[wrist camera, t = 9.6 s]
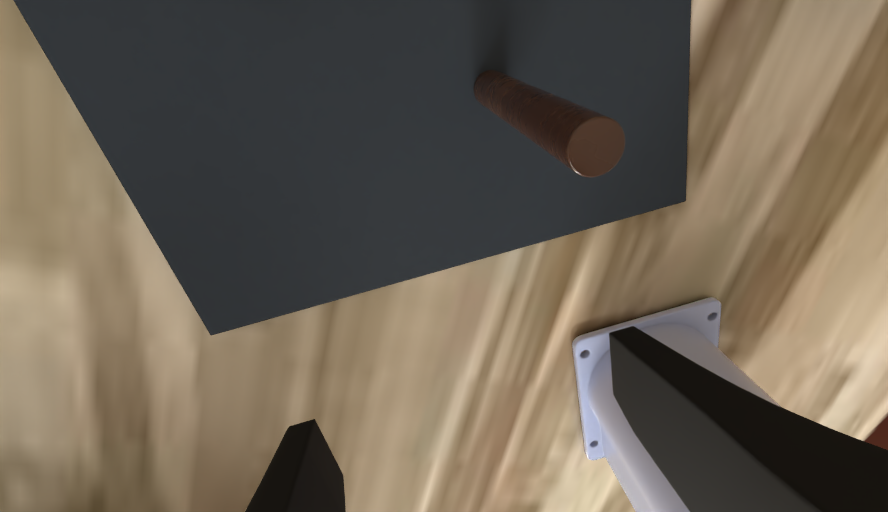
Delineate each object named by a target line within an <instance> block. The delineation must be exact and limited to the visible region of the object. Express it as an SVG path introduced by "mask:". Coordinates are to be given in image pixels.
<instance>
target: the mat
mask: <svg viewBox="0 0 888 512" xmlns="http://www.w3.org/2000/svg"><path fill="white" fill-rule="evenodd" d="M14 2H15V3H16V5H17V7H18V8H19V10H20V12H21V14H22V15H23V17H24V19H25V20H26V22H27V24H28V25H29V27H30V29H31V31H32V32H33V34H34V36H35V37H36V39H37V41H38V42H39V44H40V46H41V48H42V49H43V51H44V53H45V54H46V56H47V58H48V59H49V61H50V63H51V65H52V66H53V68H54V70H55V71H56V73H57V75H58V76H59V78H60V80H61V82H62V83H63V85H64V87H65V88H66V90H67V92H68V93H69V95H70V97H71V99H72V100H73V102H74V104H75V105H76V107H77V109H78V110H79V112H80V114H81V116H82V117H83V119H84V121H85V122H86V124H87V126H88V127H89V129H90V131H91V133H92V134H93V136H94V138H95V139H96V141H97V143H98V144H99V146H100V148H101V150H102V151H103V153H104V155H105V156H106V158H107V160H108V161H109V163H110V165H111V167H112V168H113V170H114V172H115V173H116V175H117V177H118V178H119V180H120V182H121V184H122V185H123V187H124V189H125V190H126V192H127V194H128V195H129V197H130V199H131V201H132V202H133V204H134V206H135V207H136V209H137V211H138V212H139V214H140V216H141V218H142V219H143V221H144V223H145V224H146V226H147V228H148V229H149V231H150V233H151V234H152V236H153V238H154V240H155V241H156V243H157V245H158V246H159V248H160V250H161V251H162V253H163V255H164V257H165V258H166V260H167V262H168V263H169V265H170V267H171V268H172V270H173V272H174V274H175V275H176V277H177V279H178V280H179V282H180V284H181V285H182V287H183V289H184V291H185V292H186V294H187V296H188V297H189V299H190V301H191V302H192V304H193V306H194V308H195V309H196V311H197V313H198V314H199V316H200V318H201V319H202V321H203V323H204V325H205V326H206V328H207V330H208V331H209V333H210V335H214V334H218V333H221V332H225V331H229V330H232V329H236V328H239V327H243V326H246V325H250V324H253V323H257V322H260V321H264V320H267V319H271V318H274V317H278V316H282V315H285V314H289V313H292V312H296V311H299V310H303V309H306V308H310V307H313V306H317V305H320V304H324V303H327V302H331V301H335V300H338V299H342V298H345V297H349V296H352V295H356V294H359V293H363V292H366V291H370V290H373V289H377V288H381V287H384V286H388V285H391V284H395V283H398V282H402V281H405V280H409V279H412V278H416V277H419V276H423V275H426V274H430V273H434V272H437V271H441V270H444V269H448V268H451V267H455V266H458V265H462V264H465V263H469V262H472V261H476V260H479V259H483V258H487V257H490V256H494V255H497V254H501V253H504V252H508V251H511V250H515V249H518V248H522V247H525V246H529V245H533V244H536V243H540V242H543V241H547V240H550V239H554V238H557V237H561V236H564V235H568V234H571V233H575V232H578V231H582V230H586V229H589V228H593V227H596V226H600V225H603V224H607V223H610V222H614V221H617V220H621V219H624V218H628V217H631V216H635V215H639V214H642V213H646V212H649V211H653V210H656V209H660V208H663V207H667V206H670V205H674V204H677V203H681V202H684V201H686V172H687V134H688V96H689V58H690V19H691V0H14ZM487 70H496V71H498V72H501V73H503V74H506V75H508V76H510V77H513V78H515V79H518V80H520V81H523V82H525V83H527V84H530V85H532V86H535V87H537V88H540V89H542V90H544V91H547V92H549V93H552V94H554V95H556V96H559V97H561V98H564V99H566V100H569V101H571V102H573V103H576V104H578V105H581V106H583V107H586V108H588V109H590V110H593V111H595V112H598V113H600V114H603V115H605V116H607V117H610V118H612V119H614V120H616V121H617V122H618V123H619V124H620V126H621V127H622V129H623V132H624V135H625V148H624V152H623V154H622V157H621V158H620V160H619V162H618V163H617V164H616V165H615V166H614V167H613V168H612V169H611V170H610V171H609V172H607V173H605V174H603V175H601V176H597V177H583V176H580V175H578V174H577V173H575V172H574V171H573V170H571V169H570V168H568V167H567V166H566V165H564V164H563V163H562V162H560V161H559V160H557V159H556V158H555V157H553V156H552V155H551V154H549V153H548V152H546V151H545V150H544V149H542V148H541V147H540V146H538V145H537V144H535V143H534V142H533V141H531V140H530V139H529V138H527V137H526V136H524V135H523V134H522V133H520V132H519V131H518V130H516V129H515V128H513V127H512V126H511V125H509V124H508V123H507V122H505V121H504V120H502V119H501V118H500V117H498V116H497V115H496V114H494V113H493V112H491V111H490V110H489V109H487V108H486V107H485V106H483V105H482V104H480V103H479V102H478V101H477V99H476V98H475V95H474V83H475V81H476V79H477V77H478V76H479V75H480V74H481V73H483V72H485V71H487Z"/></svg>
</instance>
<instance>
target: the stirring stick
mask: <svg viewBox="0 0 888 512" xmlns="http://www.w3.org/2000/svg"><path fill="white" fill-rule="evenodd" d="M474 95H475V98H476V99H477V101H478V102H479V103H480V104H482V105H483V106H485V107H486V108H487V109H489V110H490V111H491V112H493V113H494V114H496V115H497V116H498V117H500V118H501V119H502V120H504V121H505V122H507V123H508V124H509V125H511V126H512V127H513V128H515V129H516V130H518V131H519V132H520V133H522V134H523V135H524V136H526V137H527V138H529V139H530V140H531V141H533V142H534V143H535V144H537V145H538V146H540V147H541V148H542V149H544V150H545V151H546V152H548V153H549V154H551V155H552V156H553V157H555V158H556V159H557V160H559V161H560V162H562V163H563V164H564V165H566V166H567V167H568V168H570V169H571V170H573V171H574V172H575V173H577V174H578V175H580V176H583V177H597V176H601V175H603V174H605V173H607V172H609V171H610V170H611V169H612V168H613V167H614V166H615V165H616V164H617V163H618V162H619V160H620V158H621V157H622V154H623V152H624V148H625V135H624V132H623V129H622V127H621V126H620V124H619V123H618V122H617V121H616V120H614V119H612V118H610V117H607V116H605V115H603V114H600V113H598V112H595V111H593V110H590V109H588V108H586V107H583V106H581V105H578V104H576V103H573V102H571V101H569V100H566V99H564V98H561V97H559V96H556V95H554V94H552V93H549V92H547V91H544V90H542V89H540V88H537V87H535V86H532V85H530V84H527V83H525V82H523V81H520V80H518V79H515V78H513V77H510V76H508V75H506V74H503V73H501V72H498V71H496V70H487V71H485V72H483V73H481V74H480V75H479V76H478V77H477V79H476V81H475V83H474Z"/></svg>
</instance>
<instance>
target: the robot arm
mask: <svg viewBox="0 0 888 512" xmlns="http://www.w3.org/2000/svg"><path fill="white" fill-rule="evenodd" d="M709 314H710V315H709ZM720 316H721V303H720V302H719V301H718V300H717V299H716V298H714V297H709V298H706V299H702V300H699V301H695V302H692V303H688V304H685V305H682V306H678V307H675V308H671V309H668V310H665V311H661V312H658V313H654V314H651V315H647V316H644V317H641V318H637V319H634V320H630V321H627V322H624V323H620V324H617V325H613V326H610V327H606V328H603V329H600V330H596V331H593V332H589V333H586V334H582V335H580V336H577V337H576V338H575V339H574V341H573V343H572V347H573V356H574V364H575V372H576V381H577V389H578V398H579V406H580V415H581V423H582V431H583V440H584V448H585V454H586V456H587V458H588V459H590V460H597V459H600V458H603V457H605V458H606V460H607V461H608V463H609V465H610V467H611V468H612V470H613V472H614V474H615V476H616V477H617V479H618V481H619V483H620V484H621V486H622V488H623V490H624V492H625V493H626V495H627V497H628V499H629V500H630V502H631V504H632V506H633V508H634V509H635V511H636V512H888V450H886V449H883V448H880V447H878V446H875V445H872V444H869V443H866V442H864V441H861V440H858V439H856V438H853V437H850V436H848V435H845V434H843V433H840V432H838V431H835V430H833V429H830V428H828V427H825V426H823V425H821V424H818V423H816V422H814V421H811V420H809V419H807V418H804V417H802V416H800V415H797V414H795V413H793V412H790V411H788V410H786V409H784V408H782V407H781V406H780V405H779V404H778V403H776V402H775V401H774V400H773V399H772V398H771V397H770V396H769V395H768V394H767V393H766V392H765V391H763V390H762V389H761V388H760V387H759V386H758V385H757V384H756V383H755V382H754V381H753V380H752V379H751V378H749V377H748V376H747V375H746V374H745V373H744V372H743V371H742V370H741V369H740V368H739V367H738V366H736V365H735V364H734V363H733V362H732V361H731V360H730V359H729V358H728V357H727V356H726V355H725V354H723V353H722V352H721V351H720V350H719V349H718V343H719V329H720ZM584 350H586V351H585V352H583V353H581V352H582V351H584ZM245 512H346V511H345V494H344V480H343V474H342V472H341V470H340V468H339V466H338V464H337V462H336V460H335V458H334V456H333V454H332V452H331V450H330V448H329V446H328V444H327V442H326V440H325V438H324V436H323V434H322V433H321V431H320V429H319V427H318V425H317V423H316V421H315V419H313V420H310V421H306V422H303V423H300V424H296V425H293V426H289V428H288V429H287V431H286V433H285V435H284V437H283V439H282V441H281V443H280V445H279V447H278V449H277V451H276V453H275V455H274V457H273V459H272V461H271V463H270V465H269V467H268V469H267V471H266V473H265V475H264V477H263V479H262V481H261V483H260V485H259V486H258V488H257V490H256V492H255V494H254V496H253V498H252V500H251V501H250V503H249V505H248V507H247V509H246V511H245Z"/></svg>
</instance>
